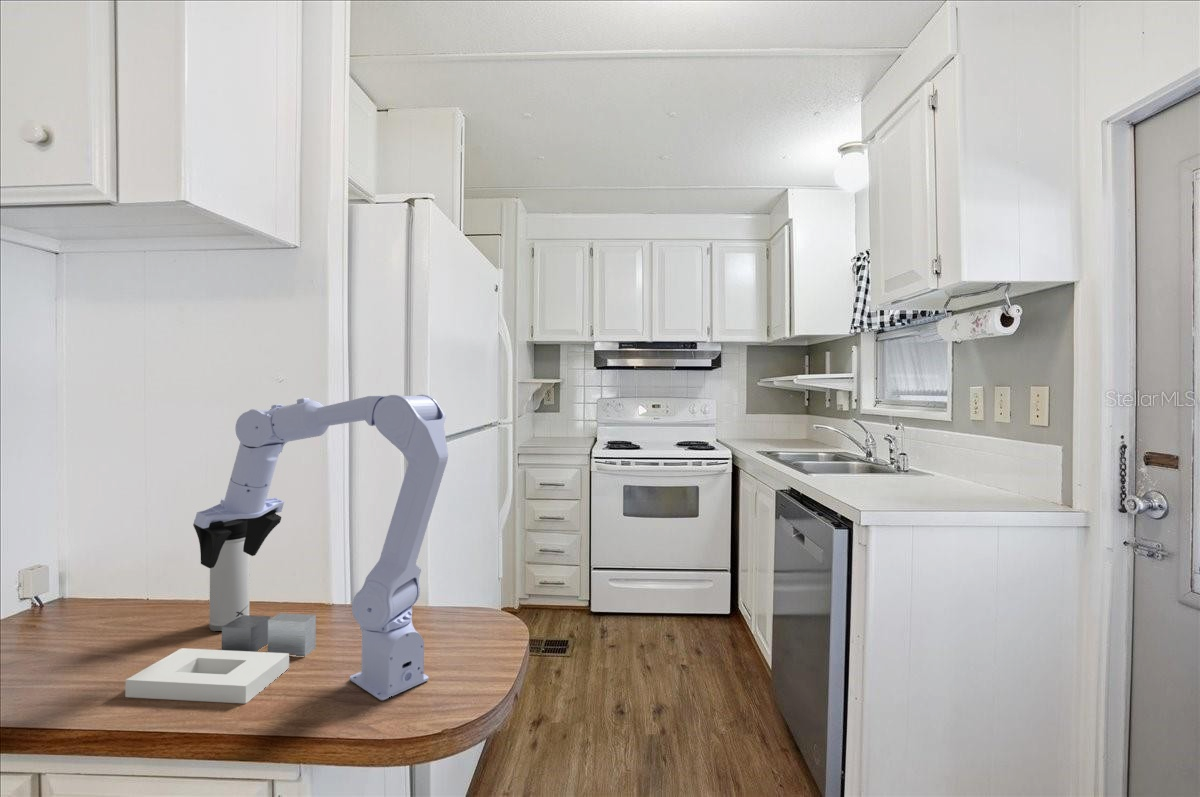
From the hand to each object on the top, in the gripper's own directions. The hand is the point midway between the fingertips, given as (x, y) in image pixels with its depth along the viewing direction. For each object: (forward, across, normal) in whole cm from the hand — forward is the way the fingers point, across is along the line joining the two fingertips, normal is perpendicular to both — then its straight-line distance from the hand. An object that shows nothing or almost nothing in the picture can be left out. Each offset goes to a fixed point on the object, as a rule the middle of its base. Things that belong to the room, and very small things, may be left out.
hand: (229, 559), depth 92 cm
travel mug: (+19, -11, -6) cm, 23 cm away
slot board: (+15, +6, +9) cm, 18 cm away
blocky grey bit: (+14, -6, +12) cm, 19 cm away
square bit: (+16, -4, +5) cm, 17 cm away
